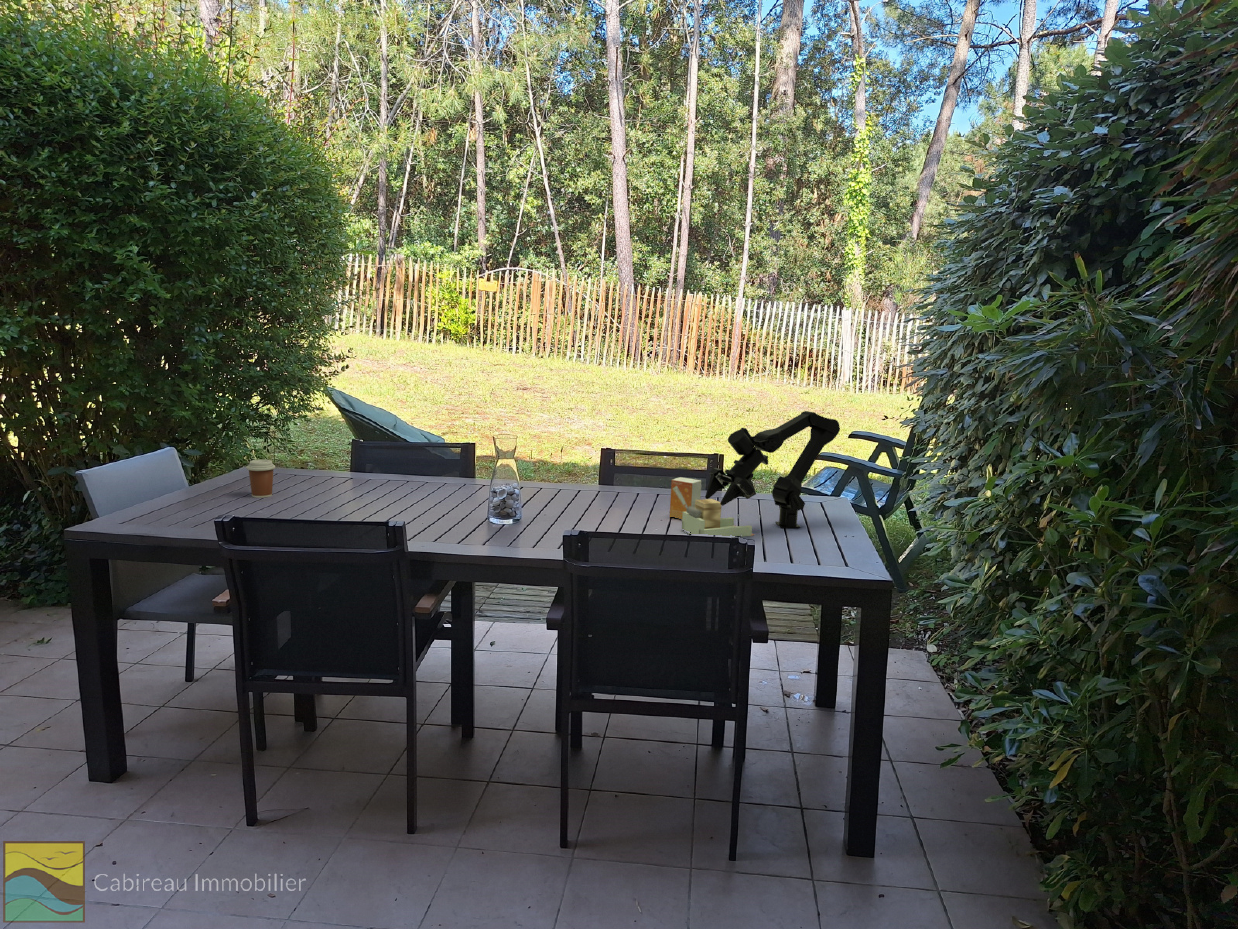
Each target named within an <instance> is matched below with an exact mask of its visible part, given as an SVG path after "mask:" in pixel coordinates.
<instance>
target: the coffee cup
mask: <svg viewBox="0 0 1238 929" xmlns="http://www.w3.org/2000/svg"><path fill="white" fill-rule="evenodd" d="M275 469H276V465H275V464H274V463H273V461H272V460H271V459H260V458H259V459H253V460H250V461H249V464H248V465H247V466H246V470H247V471H248V475H249V483H250V484H249V485H250V492H251V497H252V498H257V499H259V498H260V499H265V498H270V497H272V496H273V487H274V486H273V484H274V483H273V482H274V470H275Z"/></svg>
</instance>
